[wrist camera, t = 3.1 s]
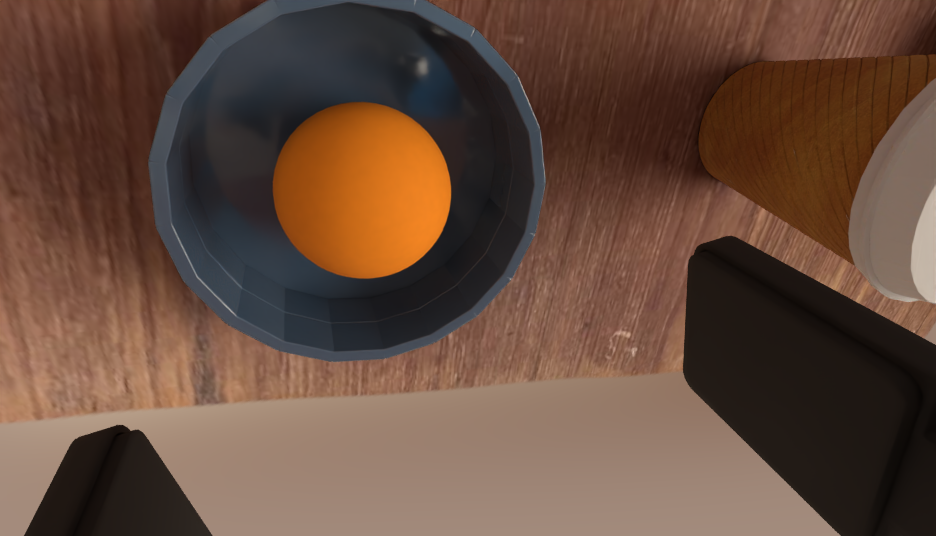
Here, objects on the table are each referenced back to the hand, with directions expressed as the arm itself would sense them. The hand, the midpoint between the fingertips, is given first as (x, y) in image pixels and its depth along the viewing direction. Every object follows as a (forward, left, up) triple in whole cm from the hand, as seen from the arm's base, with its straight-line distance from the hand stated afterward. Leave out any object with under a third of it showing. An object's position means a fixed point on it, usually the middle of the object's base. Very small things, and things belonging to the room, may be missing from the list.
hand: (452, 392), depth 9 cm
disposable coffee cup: (+20, -3, -16) cm, 26 cm away
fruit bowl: (0, 0, -16) cm, 16 cm away
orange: (0, 0, -12) cm, 12 cm away
